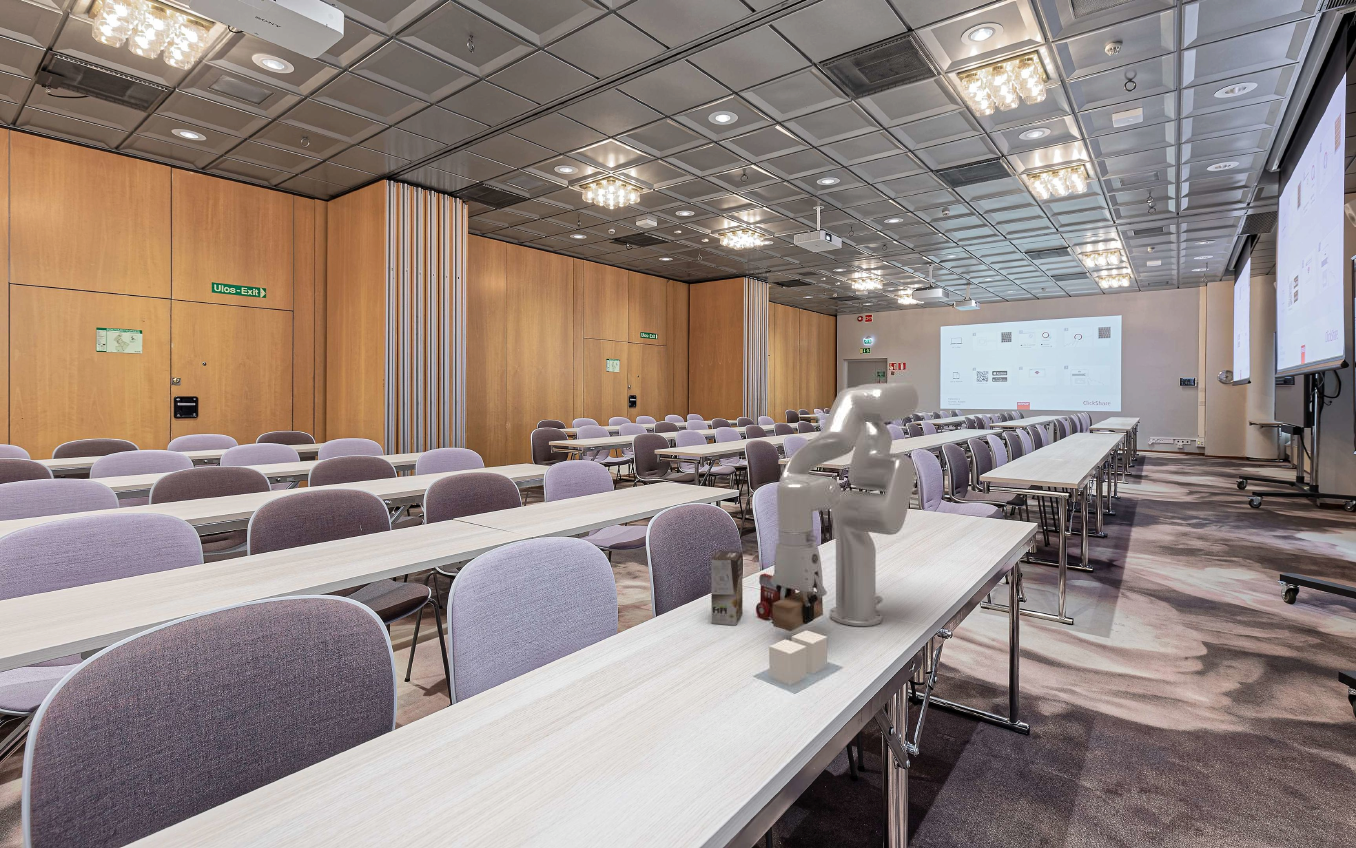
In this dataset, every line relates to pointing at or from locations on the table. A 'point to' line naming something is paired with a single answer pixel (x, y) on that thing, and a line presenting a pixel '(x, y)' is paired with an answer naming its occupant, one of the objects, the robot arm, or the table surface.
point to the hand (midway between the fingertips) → (798, 618)
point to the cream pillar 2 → (813, 650)
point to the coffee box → (726, 587)
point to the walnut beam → (793, 611)
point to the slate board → (802, 683)
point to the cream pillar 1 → (787, 662)
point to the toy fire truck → (767, 597)
